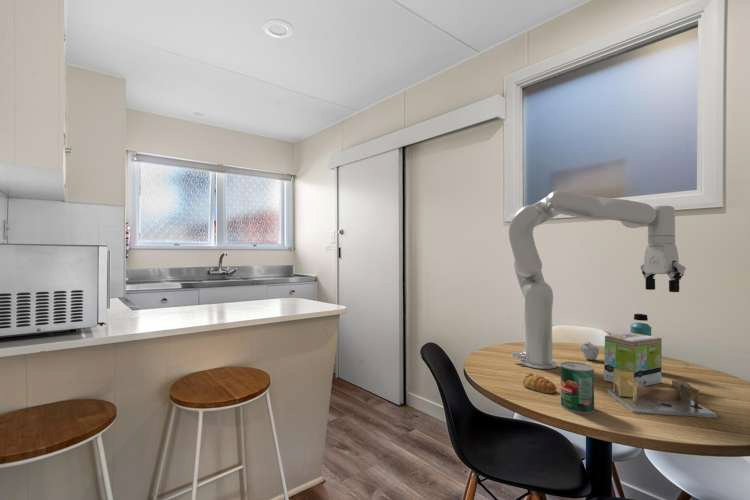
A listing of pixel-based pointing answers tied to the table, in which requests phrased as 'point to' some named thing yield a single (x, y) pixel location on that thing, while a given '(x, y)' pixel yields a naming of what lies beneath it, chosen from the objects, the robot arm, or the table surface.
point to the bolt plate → (663, 406)
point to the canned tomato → (577, 387)
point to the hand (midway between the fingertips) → (661, 290)
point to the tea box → (633, 357)
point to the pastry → (539, 383)
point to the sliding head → (625, 383)
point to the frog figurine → (589, 350)
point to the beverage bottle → (641, 325)
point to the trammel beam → (668, 392)
